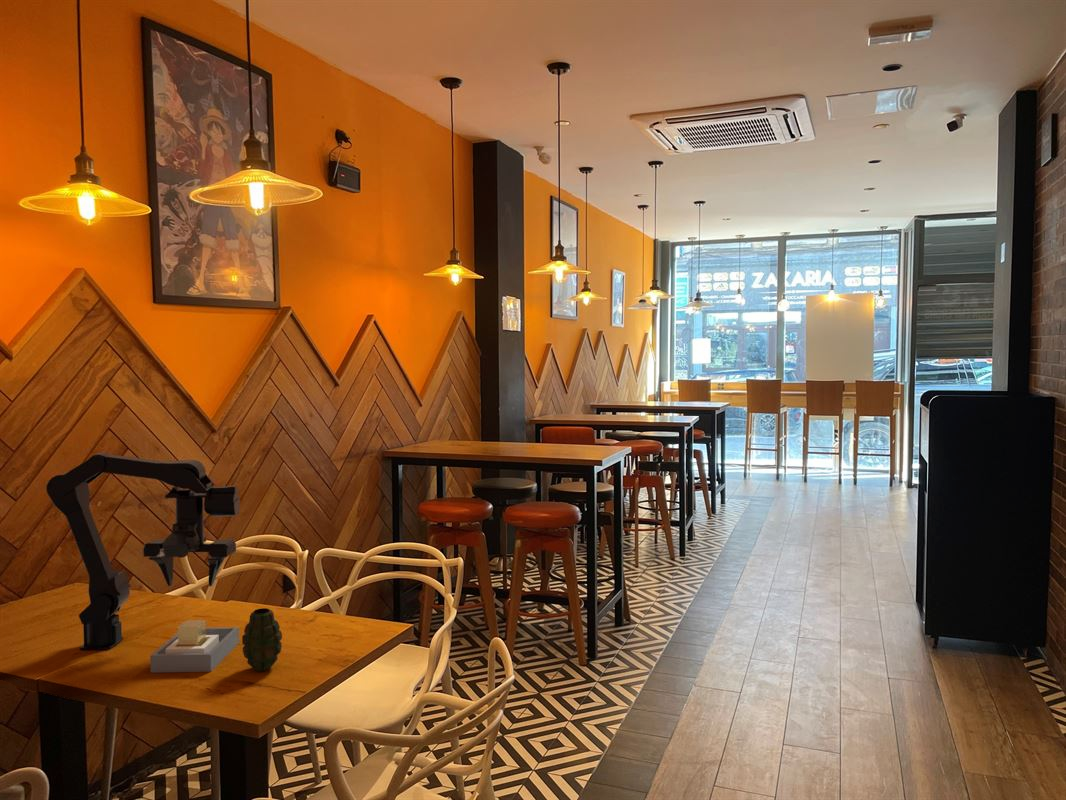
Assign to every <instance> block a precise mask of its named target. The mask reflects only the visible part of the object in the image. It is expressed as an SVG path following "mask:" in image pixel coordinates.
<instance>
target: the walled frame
mask: <svg viewBox="0 0 1066 800" xmlns="http://www.w3.org/2000/svg"><path fill="white" fill-rule="evenodd" d="M238 644H240V627H239V626H235V627H234V626H232V627H229V626H227V627H226V626H225V627H224V626H223V627H206V642H205V643H204V644H203V645H202V646H188V647H178V632H177V633H176V634H175V635H174V636H172V637H171V638H170V639H169V640H167V641H166V642H165V643H164V644H163V645H161V646H160V647H158V649H156V650H155V651H154V652H153V653H151V654H150V656H149V657H150V658H149V660H150V661H149V663H150V664H149V665H150V674H151V673H202V672H203V673H204V672H206V673H207V672H209V673H210V672H212V671H213V670H214V669H215V668H217V666H218V665H219V664H220V663H221V662H222V661H223V660H224V659H225V658H226V657H227V656H228V655H229V654H230V653H231V652H232V651H233V650H234V649H235V648H236V647H237V646H238Z"/></svg>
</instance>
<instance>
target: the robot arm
mask: <svg viewBox="0 0 1066 800" xmlns="http://www.w3.org/2000/svg"><path fill="white" fill-rule="evenodd" d="M205 467H206V466H204V464H203V463H202V462H200V460H196V459H186V460H185V459H184V460H183V459H182V460H179V459H178V460H166V461H164V460H163V461H162V460H161V461H160V460H156V459H155V460H154V459H146V458H139V457H131V456H123V455H116V454H110V453H108V452H100V453H96V454H94V455H91V456H90V457H89V458H88V459H87V460H85V461H84V462H82V463H80V464H79V465H77V466H75V467H74V468H72V469H71V470H68V471H67V472H63V473H61V474H60V473H59V474H57V475H54V476H53V477H51V478H50V479H49V480H48V482H47V484H46V486H45V490H46V494H47V496H48V497H49V499H50V500H51V502H52V504H53V506H54V507H55V508H57V509H58V510H59V511H60V513H62V514H63V515H64V516H65V518H66V521H67V523H68V526H69V528H70V531H71V533H72V536H73V539H74V541H75V544H76V546H77V549H78V551H79V553H80V557H81V559H82V563H83V564H84V566H85V569H86V572H87V575H88V588H87V589H88V590H87V591H88V596H89V597H88V598H89V604H88V606H87V607H85V608H84V609H83V610H82V611H81V612H80V613H79V615H78V618H79V620H80V622H81V624H82V626H83V627H82V629H83V644H82V645H81V646H79V650H85V651H86V650H110V649H112V648H113V647H114V646H116V645H117V644H119V643H120V642H122V641H123V640H124V636H123V635H122V634H123V633H122V632H123V631H122V628H123V627H122V621H120V614H116V613H117V612H119V611H121V608H122V605H123V604H125V603H126V602H127V600H128V599H129V597H130V594H131V593H130V588H132V585H131V584H130V583H129V581H128V578H127V574H126V571H125V570H122V571H121V572H118V571H117V570H115V569H114V567H113V566H112V565H111V561H110V559H109V556H108V554H107V551H106V548H105V546H104V543H103V541H102V538H101V535H100V533H99V530H98V527H97V525H96V523H95V520H94V517H93V515H92V513H91V509H90V499H91V498H90V497H91V493H90V487H89V484H90V483H92V482H93V481H95V480H96V479H97V478H98V477H100V476H101V475H102V474H104V473H106V474H114V475H120V476H128V477H135V478H143V479H152V480H156V481H157V480H158V481H160V482H162V483H165V484H167V485H169V486H172V488H171V490H170V491H168V492H167V494H165V495H164V498H165V499H175V522H174V523H172V529H171V530H172V531H171V533H169V535H168V536H167V537H166V538H155V539H152V540H151V541H148V542H146V543H144V545H143V547H142V557H147V558H148V559H149V560H150V561H154V562H155V563H156V564H157V565H158V567H159V569H160V570H161V573H162V575H163V577H164V580H165V582H166V584H167V586H168V587H171V586H172V585H173V580H174V558H179V559H180V558H185V557H187V556H188V555H189V553H207V554H208V555H209V557H208V558H207V562H208V567H209V568H208V587H212V586H213V585H214V583H215V580H216V578H217V575H218V574H219V570H220V568H221V567H222V564H223V563H224V560H225V559H226V558H227V557H230V556H231V554H234V553H236V552H237V544H236V542H235V540H234V539H233V538H232V539H225V538H223V539H216V540H215V541H213V542H210V543H206V542H207V536H205V535H204V534H205V530H204V529H205V528H204V525H206V524H207V519H206V518H204V514H205V513H206V514H207V515H209V517H237V516H238V515H239V513H240V508H241V507H240V506H241V498H240V496H239V492H238V488H237V487H238V486H237V485H227V486H216V485H215V483H214V482H213V481H212V479H211V478H210V477H209V476H208V474H207V473H206V468H205Z"/></svg>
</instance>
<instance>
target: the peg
mask: <svg viewBox="0 0 1066 800" xmlns="http://www.w3.org/2000/svg"><path fill="white" fill-rule="evenodd" d="M206 628H207V627H206V619H188V620H187V619H186V620H185V621H183V622H182V623H181V624H179V625H178V626H177V633H178V647H188V646H202V645H203V644H204V643H205V642H206Z"/></svg>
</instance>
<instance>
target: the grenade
mask: <svg viewBox="0 0 1066 800" xmlns="http://www.w3.org/2000/svg"><path fill="white" fill-rule="evenodd" d="M248 620H249V622H248V623H247V624H246V625H245V627H244V630H243V633H244V634H243V635H242V637H241V640H242V642H241V644H242V645H243V647H242V654H243V657H244V658H246V659H247V662H246V663H247V664H248V665H249V666H250V667H251V668H253V670H255V671H256V672H266V671H268V670H270V669H271V668H272V666H273V665H274V664H275V663H276V662H277V661H278V659H279V658H278V655H280V654H281V652H282V647H283V645H282V642H281V640H282V639H283V633H282V631H281V630H280V624H279V622H278V621H277V620H276V619H275V615H274V612H273V610H270V608H266V607H264V608H263V607H262V608H257V609H255V610H254V611H252V612H251V613H250V615H249V619H248Z"/></svg>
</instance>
